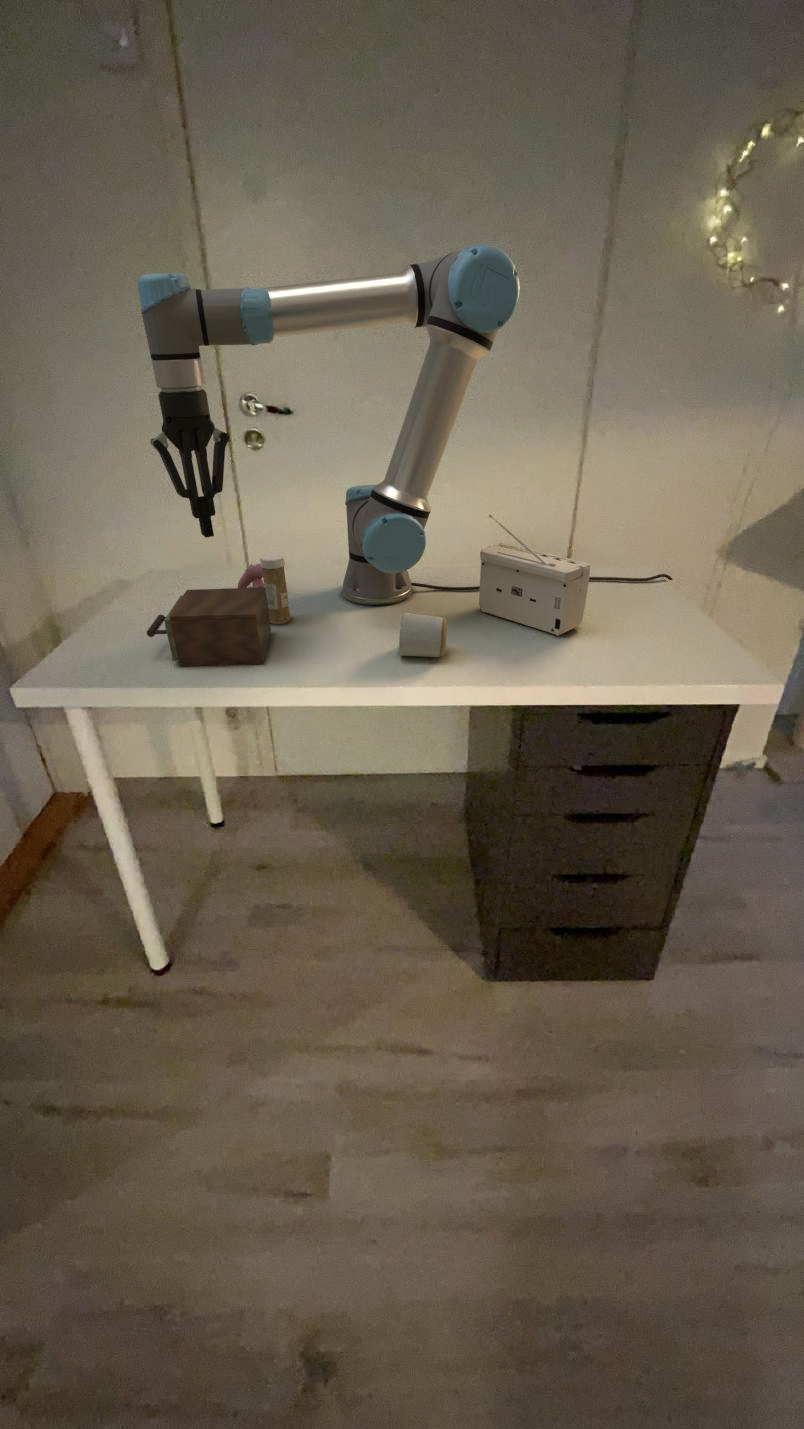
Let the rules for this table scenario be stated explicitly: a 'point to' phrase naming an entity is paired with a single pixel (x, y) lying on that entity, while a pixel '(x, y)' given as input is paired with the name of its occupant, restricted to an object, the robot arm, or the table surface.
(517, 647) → the table surface
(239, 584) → the pink curved ring
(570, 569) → the radio
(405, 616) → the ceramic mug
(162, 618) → the drawer
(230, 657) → the cabinet
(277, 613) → the sprinkles bottle
